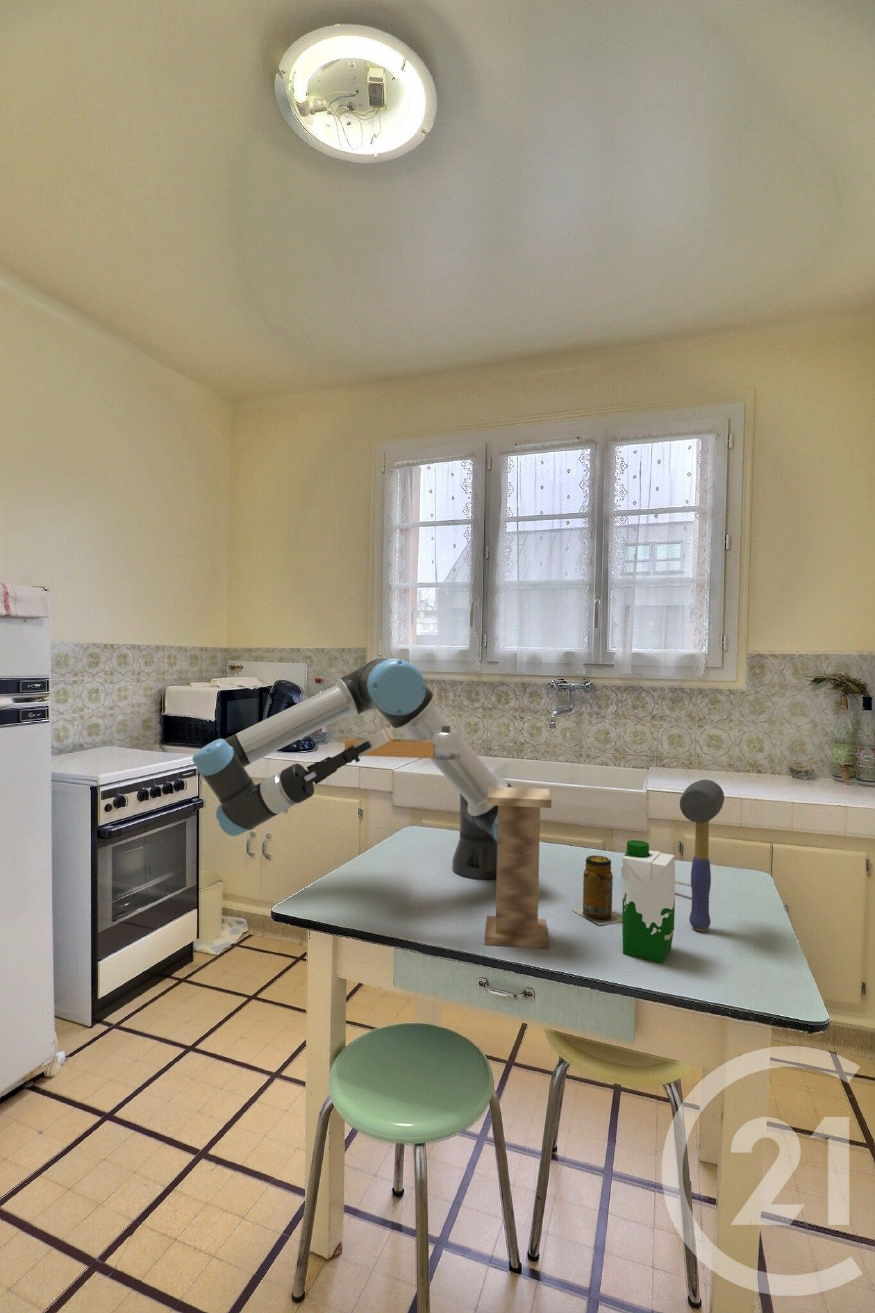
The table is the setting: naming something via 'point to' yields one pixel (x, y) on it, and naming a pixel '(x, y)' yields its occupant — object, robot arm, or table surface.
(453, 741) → the wooden handle
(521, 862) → the walnut stand
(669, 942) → the milk carton
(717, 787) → the rubber mallet
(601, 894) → the condiment
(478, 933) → the table surface
